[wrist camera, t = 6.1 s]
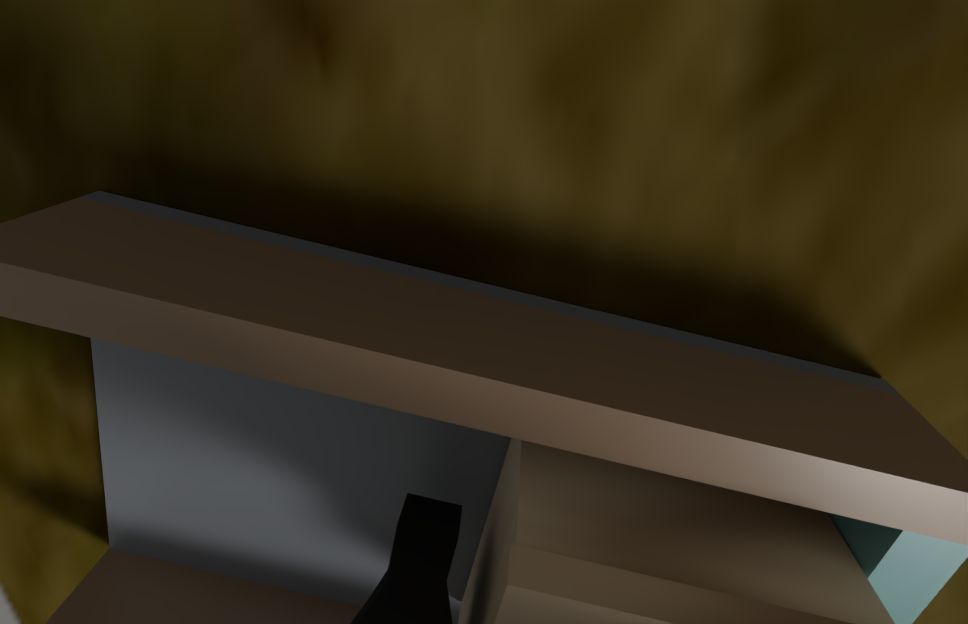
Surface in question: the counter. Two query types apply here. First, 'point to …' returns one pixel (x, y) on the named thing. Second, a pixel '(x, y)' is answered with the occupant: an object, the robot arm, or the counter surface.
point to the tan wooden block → (653, 551)
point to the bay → (415, 416)
